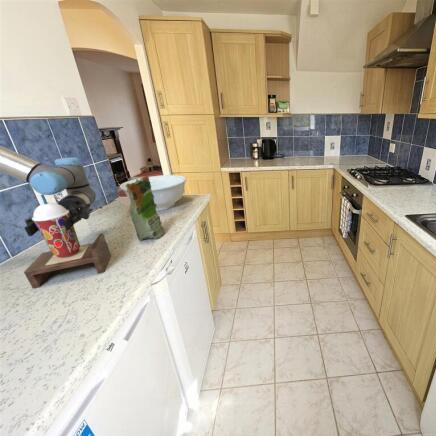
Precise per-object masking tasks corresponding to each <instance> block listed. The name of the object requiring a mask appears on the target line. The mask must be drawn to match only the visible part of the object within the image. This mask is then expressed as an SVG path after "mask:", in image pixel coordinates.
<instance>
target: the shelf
mask: <svg viewBox="0 0 436 436" xmlns="http://www.w3.org/2000/svg"><path fill="white" fill-rule="evenodd" d="M111 256H112V252H111V250H110V247H109V244H108V243H107V240H106V236H105V234H104V233H99V234H98V235H97V237H96V239H95V240H94V242H93V243H88V244H83V245H80V248H79V251H78V252H77V253H76V254H74V255H71V256H68V257H63V258H59V257H57V256H56V255H54V254H53V253H52V251H51V250H50V251H44V252H41V253H40V254H39V255H38V257H36V258H35V259H34V260H33V262H32V263H31V264H30V265H29V266H28V267H27V268H26V269H25V270H24V271H23V273H24V275H25V277H26V280H28V281H27V282H29V285H30V286H31V287H32V289H37V288H40V287H41V286H42V285H43V283H44V282H45V281H46V279H47V278H48V277H49V275H50V274H51V273H52V272H55V271H58V270H64V269H67V268H73V267H77V266H82V265H86V264H92V263H93V264H94V267H95V270H96V272H97V274H102V273H105V271H106V268H107V266H108V264H109V261H110V260H111Z"/></svg>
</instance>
